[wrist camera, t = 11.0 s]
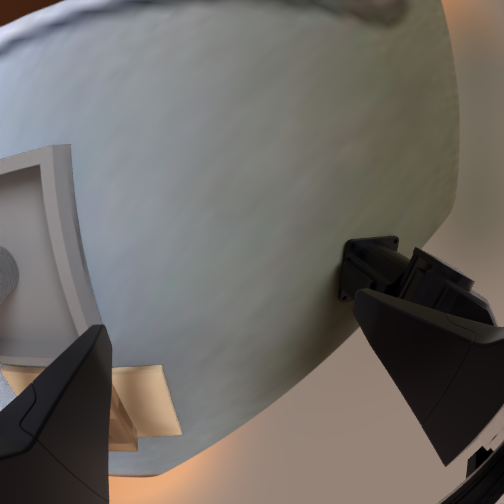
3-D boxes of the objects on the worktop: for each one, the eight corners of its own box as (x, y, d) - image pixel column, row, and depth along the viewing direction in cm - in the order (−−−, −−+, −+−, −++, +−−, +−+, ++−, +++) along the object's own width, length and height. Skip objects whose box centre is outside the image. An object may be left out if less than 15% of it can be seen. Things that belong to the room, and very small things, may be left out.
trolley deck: (161, 364, 25) (162, 395, 21) (181, 428, 29) (185, 453, 26) (3, 364, 20) (-8, 388, 16) (45, 426, 25) (41, 448, 21)
